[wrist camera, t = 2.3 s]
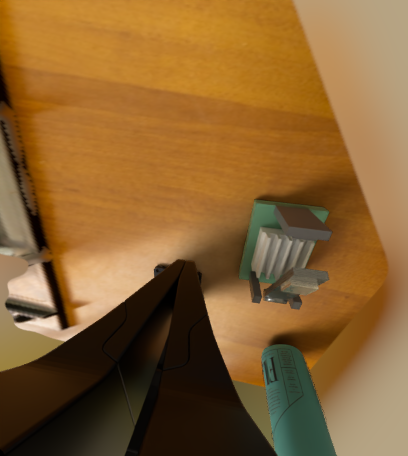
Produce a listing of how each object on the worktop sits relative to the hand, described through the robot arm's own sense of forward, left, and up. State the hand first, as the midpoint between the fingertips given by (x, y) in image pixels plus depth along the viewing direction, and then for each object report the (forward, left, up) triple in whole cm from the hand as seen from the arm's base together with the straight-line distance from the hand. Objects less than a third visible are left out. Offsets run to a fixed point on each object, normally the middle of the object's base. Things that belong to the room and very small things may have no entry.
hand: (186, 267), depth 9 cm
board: (-5, -8, -12) cm, 15 cm away
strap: (-6, -8, -6) cm, 12 cm away
